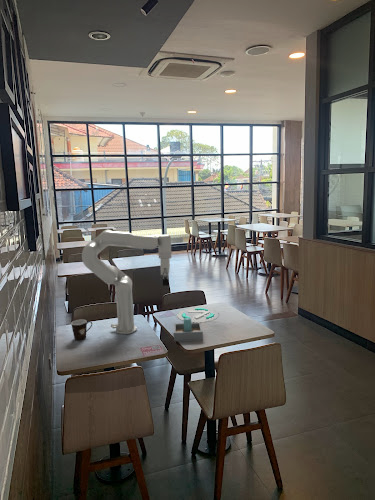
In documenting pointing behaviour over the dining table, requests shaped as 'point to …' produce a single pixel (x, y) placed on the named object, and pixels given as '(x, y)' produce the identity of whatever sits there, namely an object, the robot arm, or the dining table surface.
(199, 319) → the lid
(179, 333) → the bore box
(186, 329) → the peg
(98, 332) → the dining table surface
